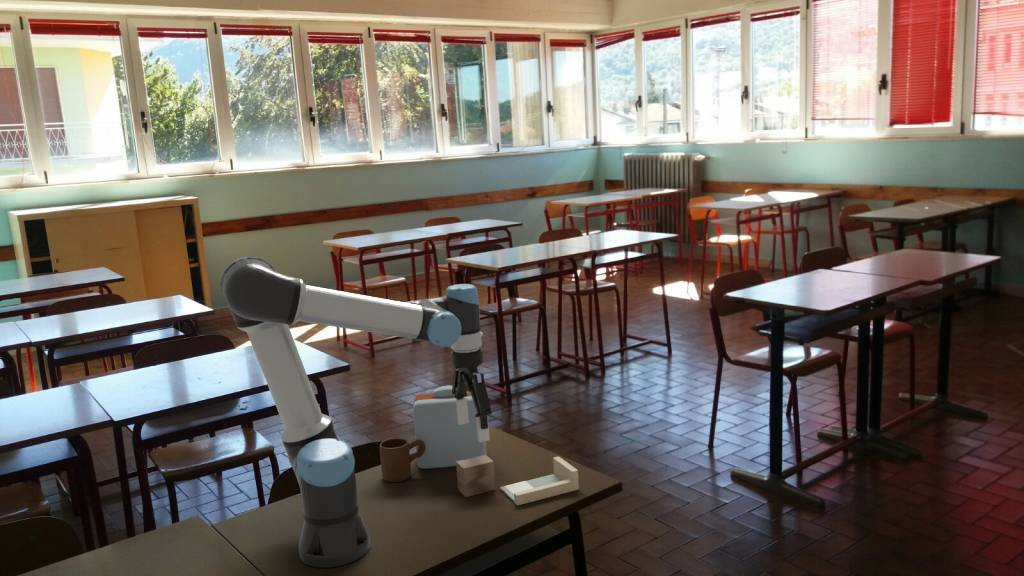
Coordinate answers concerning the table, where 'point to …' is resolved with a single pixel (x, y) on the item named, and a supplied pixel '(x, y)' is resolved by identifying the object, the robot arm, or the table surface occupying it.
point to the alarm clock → (445, 429)
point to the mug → (398, 458)
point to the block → (475, 475)
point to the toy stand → (544, 484)
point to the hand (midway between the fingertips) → (473, 432)
